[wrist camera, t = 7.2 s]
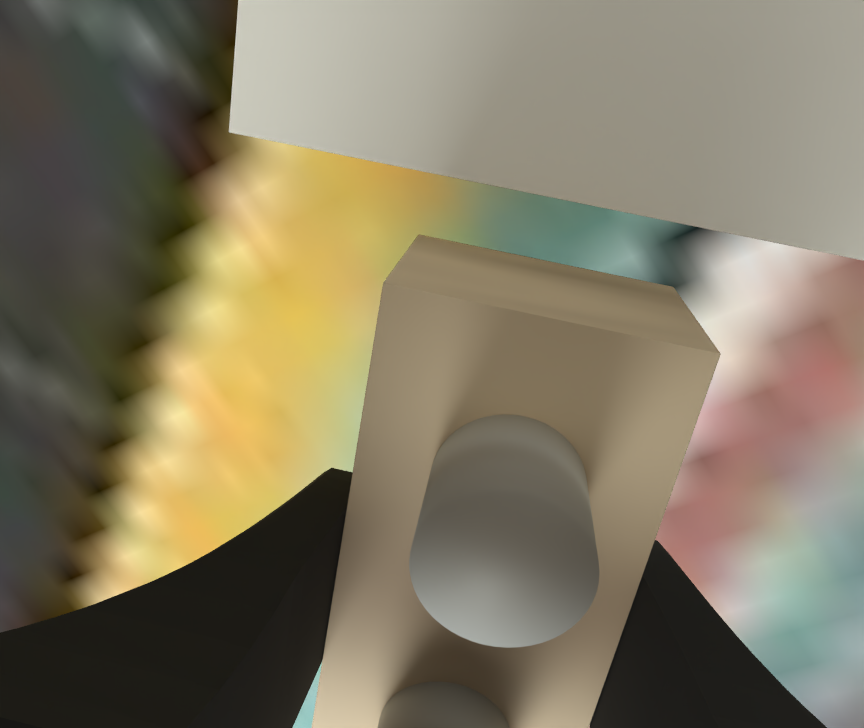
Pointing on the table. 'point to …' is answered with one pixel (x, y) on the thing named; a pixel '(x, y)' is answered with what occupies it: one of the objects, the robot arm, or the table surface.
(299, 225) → the table surface
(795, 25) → the open shelf unit
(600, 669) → the beige toy brick
